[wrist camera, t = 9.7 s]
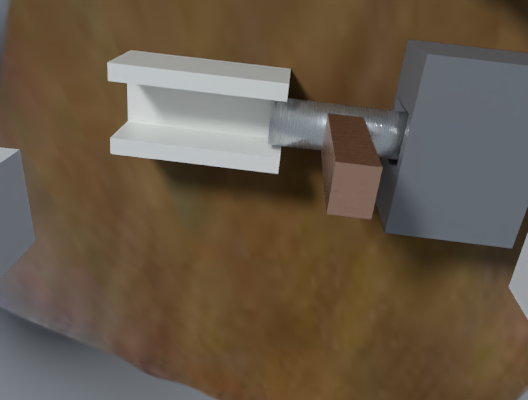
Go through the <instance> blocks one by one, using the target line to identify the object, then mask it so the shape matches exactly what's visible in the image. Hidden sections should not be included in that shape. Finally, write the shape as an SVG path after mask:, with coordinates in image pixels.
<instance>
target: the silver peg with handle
mask: <svg viewBox="0 0 528 400" xmlns="http://www.w3.org/2000/svg"><path fill="white" fill-rule="evenodd" d="M408 116H409V113H408V112H401V111H393V110H384V109H376V108H367V107H359V106H350V105H342V104H333V103H325V102H316V101H308V100H299V99H291V98H287V102H283V101H275V100H273V101H272V108H271V116H270V124H269V134H268V144H270V145H278V146H286V147H295V148H303V149H311V150H320V151H322V152H321V160H322V170H323V181H324V192H325V203H326V214H332V215H340V216H348V217H356V218H364V219H371V218H372V214H373V209H374V205H375V200H376V196H377V191H378V187H379V182H380V178H381V173H382V169H383V167H382V164H381V161H380V159H379V158H386V159H395V160H398V159H399V155H400V150H401V146H402V142H403V138H404V133H405V129H406V125H407V121H408Z"/></svg>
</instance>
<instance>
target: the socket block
mask: <svg viewBox="0 0 528 400" xmlns="http://www.w3.org/2000/svg"><path fill="white" fill-rule="evenodd" d="M393 111H401V112H408V113H409V116H408V121H407V125H406V129H405V133H404V138H403V142H402V146H401V150H400V155H399V159H398V160H395V159H386V158H382V160H381V164H382V167H383V169H382V173H381V178H380V182H379V187H378V191H377V196H376V200H375V202H376V205H377V209H378V212H379V215H380V219H381V222H382V225H383V229H384V232H385V233H389V234H398V235H406V236H414V237H422V238H430V239H438V240H447V241H455V242H463V243H471V244H479V245H487V246H496V247H504V248H512V247H513V245H514V242H515V239H516V237H517V234H518V231H519V229H520V226H521V223H522V221H523V218H524V215H525V213H526V210H527V207H528V53H522V52H514V51H505V50H496V49H488V48H479V47H470V46H461V45H453V44H444V43H435V42H427V41H418V40H409V39H408V41H407V46H406V50H405V55H404V59H403V64H402V68H401V73H400V78H399V82H398V87H397V91H396V96H395V100H394V105H393Z"/></svg>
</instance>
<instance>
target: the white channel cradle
mask: <svg viewBox="0 0 528 400" xmlns="http://www.w3.org/2000/svg"><path fill="white" fill-rule="evenodd" d="M107 67H108V81H114V82H122V83H127V95H128V122H127V123H126V124H124V125H123V126H122V127H121V128H120V129H119V130H118V131H117V132H116V133H115V134H114V135H113V136H111V137H110V151H111V154H117V155H125V156H133V157H141V158H150V159H158V160H166V161H174V162H183V163H191V164H199V165H208V166H216V167H224V168H232V169H241V170H249V171H257V172H266V173H274V174H278V171H279V163H280V155H281V146H278V145H270V144H268V134H269V124H270V116H271V108H272V101H273V100H275V101H283V102H287V98H288V90H289V82H290V73H291V69H288V68H280V67H271V66H262V65H254V64H245V63H237V62H228V61H220V60H211V59H202V58H194V57H185V56H177V55H168V54H160V53H151V52H142V51H134V50H130V51H128V52H126V53H125V54H123V55H121V56H119V57H117V58H115V59H113V60H111V61H109V62H107Z"/></svg>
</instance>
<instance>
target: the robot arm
mask: <svg viewBox="0 0 528 400" xmlns="http://www.w3.org/2000/svg"><path fill="white" fill-rule="evenodd" d="M34 242H35V236H34V230H33V224H32V219H31V213H30V207H29V201H28V195H27V189H26V184H25V178H24V172H23V166H22V160H21V154H20V149H9V148H0V278H1V277H2V276H3V275H4V274H5V273H6V272H7V271H8V270H9V269H10V268H11V267H12V266H13V264H14V263H15V262H16V261H17V260H18V259H19V258H20V257H21V256H22V255H23V254H24V253H25V251H26V250H27V249H28V248H29V247H30V246H31V245H32V244H33V243H34ZM509 289H510V290H511V292H512V294H513V295H514V297H515V299H516V300H517V302H518V304H519V306H520V307H521V309H522V311H523V312H524V314H525V316H526V317H527V319H528V233H527V236H526V239H525V242H524V245H523V248H522V250H521V253H520V256H519V259H518V262H517V265H516V267H515V270H514V273H513V276H512V279H511V281H510V284H509Z"/></svg>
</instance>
